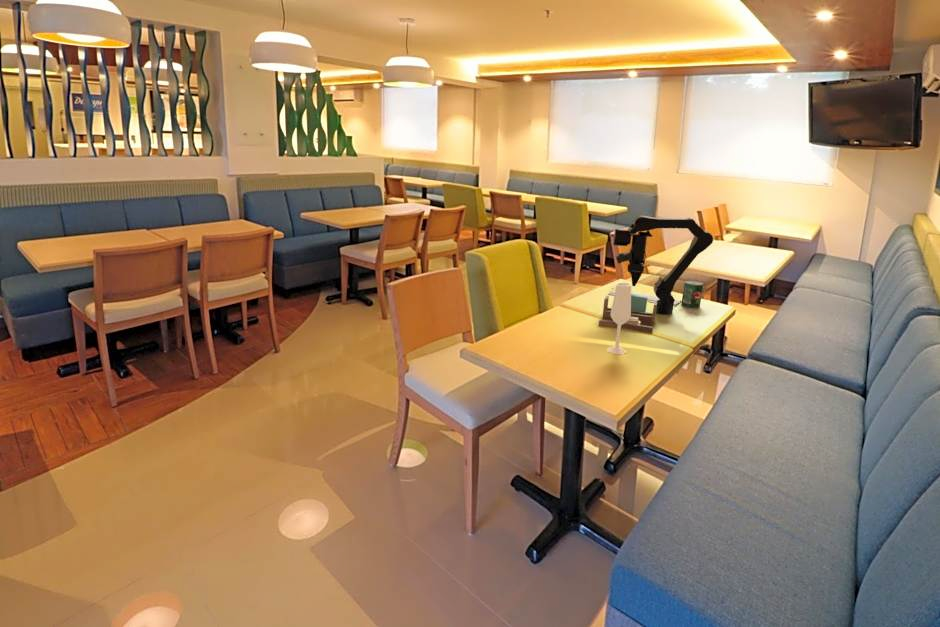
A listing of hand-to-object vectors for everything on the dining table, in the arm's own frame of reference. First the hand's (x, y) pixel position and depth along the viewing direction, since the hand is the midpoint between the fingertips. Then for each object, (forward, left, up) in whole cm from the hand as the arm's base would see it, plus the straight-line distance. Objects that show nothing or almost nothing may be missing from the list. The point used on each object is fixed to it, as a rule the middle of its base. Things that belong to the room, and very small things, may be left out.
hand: (634, 283), depth 226 cm
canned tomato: (-32, -5, -13) cm, 35 cm away
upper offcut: (+12, +18, -10) cm, 24 cm away
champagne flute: (+28, +39, -13) cm, 50 cm away
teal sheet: (+3, +4, -13) cm, 14 cm away
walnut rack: (+10, +14, -13) cm, 22 cm away
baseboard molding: (-18, -20, -14) cm, 30 cm away
